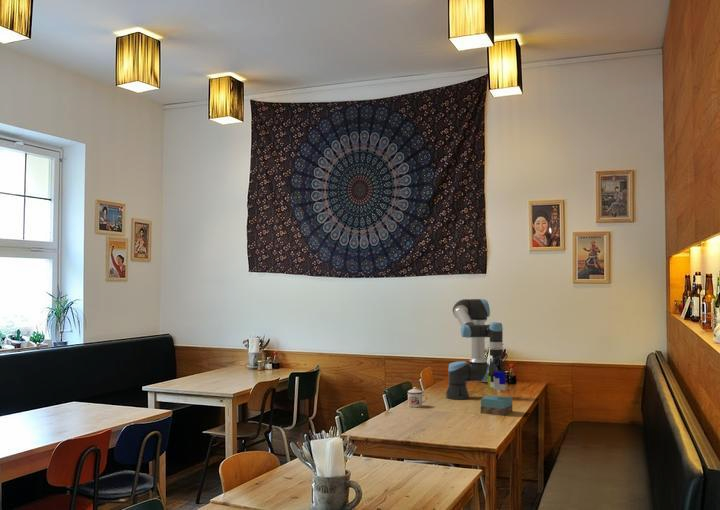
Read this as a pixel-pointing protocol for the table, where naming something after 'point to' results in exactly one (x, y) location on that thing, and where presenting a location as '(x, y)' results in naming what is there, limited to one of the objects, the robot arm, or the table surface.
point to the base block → (496, 410)
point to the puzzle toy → (497, 380)
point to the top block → (496, 401)
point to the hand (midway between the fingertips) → (496, 386)
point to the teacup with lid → (415, 397)
